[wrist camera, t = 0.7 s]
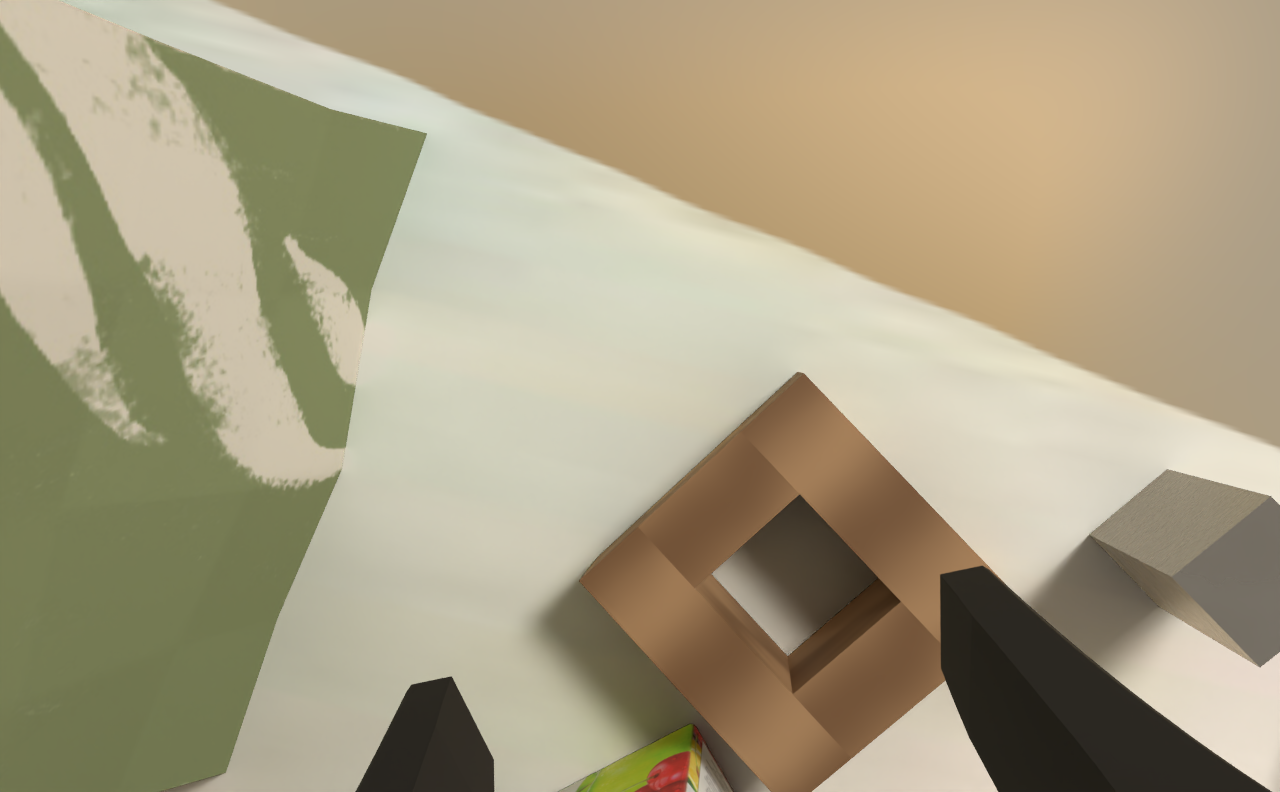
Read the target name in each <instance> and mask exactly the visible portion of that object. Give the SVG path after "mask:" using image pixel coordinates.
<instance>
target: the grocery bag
mask: <svg viewBox="0 0 1280 792" xmlns="http://www.w3.org/2000/svg"><path fill="white" fill-rule="evenodd" d="M426 135H427V133H423V132H419V131H415V130H411V129H407V128H403V127H399V126H395V125H391V124H387V123H383V122H379V121H375V120H371V119H367V118H363V117H359V116H355V115H351V114H347V113H343V112H339V111H335V110H331V109H328V108H326V107H323V106H321V105H318V104H316V103H313V102H311V101H308V100H306V99H303V98H301V97H298V96H296V95H293V94H290V93H288V92H285V91H283V90H280V89H278V88H275V87H273V86H270V85H268V84H265V83H263V82H260V81H258V80H255V79H252V78H250V77H247V76H245V75H242V74H240V73H237V72H235V71H232V70H230V69H227V68H225V67H222V66H220V65H217V64H214V63H212V62H209V61H207V60H204V59H202V58H199V57H197V56H194V55H192V54H189V53H187V52H184V51H182V50H179V49H176V48H174V47H171V46H169V45H166V44H164V43H161V42H159V41H156V40H154V39H151V38H149V37H146V36H144V35H142V34H139V33H137V32H134V31H132V30H129V29H127V28H124V27H122V26H120V25H117V24H115V23H112V22H110V21H107V20H105V19H103V18H100V17H98V16H95V15H93V14H90V13H88V12H86V11H83V10H81V9H78V8H76V7H73V6H71V5H69V4H66V3H64V2H61V1H59V0H0V792H160V791H164V790H167V789H171V788H174V787H178V786H181V785H184V784H188V783H191V782H195V781H198V780H202V779H205V778H209V777H212V776H216V775H219V774H222V773H226V770H227V767H228V764H229V761H230V758H231V755H232V752H233V749H234V746H235V743H236V740H237V737H238V734H239V731H240V728H241V725H242V722H243V719H244V716H245V713H246V710H247V707H248V704H249V701H250V698H251V695H252V692H253V689H254V686H255V683H256V681H257V678H258V675H259V672H260V669H261V666H262V663H263V660H264V657H265V654H266V651H267V648H268V645H269V642H270V639H271V636H272V633H273V630H274V627H275V624H276V621H277V618H278V616H279V613H280V611H281V609H282V606H283V604H284V602H285V599H286V597H287V595H288V592H289V590H290V588H291V585H292V583H293V581H294V579H295V576H296V574H297V572H298V569H299V567H300V565H301V562H302V560H303V558H304V555H305V553H306V551H307V548H308V546H309V544H310V542H311V539H312V537H313V535H314V532H315V530H316V528H317V525H318V523H319V521H320V518H321V516H322V514H323V511H324V509H325V507H326V505H327V502H328V500H329V498H330V495H331V493H332V491H333V488H334V486H335V484H336V481H337V479H338V477H339V474H340V472H341V470H342V466H343V460H344V454H345V447H346V441H347V435H348V429H349V423H350V417H351V411H352V405H353V399H354V393H355V386H356V380H357V374H358V368H359V362H360V356H361V350H362V344H363V338H364V332H365V326H366V319H367V313H368V307H369V301H370V295H371V289H372V287H373V284H374V281H375V278H376V275H377V273H378V270H379V267H380V264H381V261H382V259H383V256H384V253H385V250H386V247H387V245H388V242H389V239H390V236H391V233H392V231H393V228H394V225H395V222H396V219H397V216H398V214H399V211H400V208H401V205H402V202H403V200H404V197H405V194H406V191H407V188H408V185H409V183H410V180H411V177H412V174H413V171H414V169H415V166H416V163H417V160H418V157H419V155H420V152H421V149H422V146H423V143H424V140H425V138H426Z"/></svg>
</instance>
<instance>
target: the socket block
mask: <svg viewBox="0 0 1280 792" xmlns="http://www.w3.org/2000/svg"><path fill="white" fill-rule="evenodd" d="M799 494H800V495H801V496H802V497H803V498H804V499H805V500H806V501H807V502H808V504H809V505H810V506H811V507H812V508H813V509H814V510H815V511H816V512H817V513H818V514H819V515H820V516H821V517H822V518H823V519H824V520H825V522H826V523H827V524H828V525H829V526H830V527H831V528H832V529H833V530H834V531H835V532H836V533H837V534H838V535H839V536H840V537H841V538H842V540H843V541H844V542H845V543H846V544H847V545H848V546H849V547H850V548H851V549H852V550H853V551H854V552H855V553H856V554H857V555H858V556H859V558H860V559H861V560H862V561H863V562H864V563H865V564H866V565H867V566H868V567H869V568H870V569H871V570H872V571H873V572H874V573H875V574H876V576H877V577H878V579H877V580H876V581H875V582H873V583H872V584H871V585H870V586H869V587H868V588H866V589H865V590H864V591H863V592H862V593H861V594H860V595H858V596H857V597H856V598H855V599H854V600H853V601H851V602H850V603H849V604H848V605H847V606H846V607H844V608H843V609H842V610H841V611H840V612H839V613H838V614H836V615H835V616H834V617H833V618H832V619H831V620H829V621H828V622H827V623H826V624H825V625H824V626H823V627H821V628H820V629H819V630H818V631H817V632H816V633H814V634H813V635H812V636H811V637H810V638H809V639H807V640H806V641H805V642H804V643H803V644H802V645H801V646H799V647H798V648H797V649H796V650H795V651H794V652H792V653H791V654H790V655H789V656H787V655H786V654H785V653H784V652H783V651H782V650H781V649H780V648H779V647H778V645H777V644H776V643H775V642H774V641H773V640H772V639H771V638H770V637H769V636H768V635H767V634H766V633H765V631H764V630H763V629H762V628H761V627H760V626H759V625H758V624H757V623H756V622H755V621H754V620H753V619H752V617H751V616H750V615H749V614H748V613H747V612H746V611H745V610H744V609H743V608H742V607H741V606H740V604H739V603H738V602H737V601H736V600H735V599H734V598H733V597H732V596H731V595H730V594H729V593H728V592H727V590H726V589H725V588H724V587H723V586H722V585H721V584H720V583H719V582H718V581H717V580H716V579H715V578H714V576H713V575H712V574H711V573H712V572H713V571H715V570H716V569H717V568H718V567H719V566H720V565H721V564H722V563H723V562H725V561H726V560H727V559H728V558H729V557H730V556H731V555H732V554H734V553H735V552H736V551H737V550H738V549H739V548H740V547H741V546H742V545H744V544H745V543H746V542H747V541H748V540H749V539H750V538H751V537H752V536H754V535H755V534H756V533H757V532H758V531H759V530H760V529H761V528H762V527H764V526H765V525H766V524H767V523H768V522H769V521H770V520H771V519H772V518H774V517H775V516H776V515H777V514H778V513H779V512H780V511H781V510H783V509H784V508H785V507H786V506H787V505H788V504H789V503H790V502H791V501H793V500H794V499H795V498H796V497H797V496H798V495H799ZM982 565H983V566H984V567H986V568H988V569H989V570H990V571H992V570H991V569H990V567H989V566H988V565H987V564H986V563H985V562H984V561H983V560H982V559H981V558H980V557H979V556H978V555H977V554H976V553H975V552H974V551H973V550H972V549H971V548H970V547H969V546H968V544H967V543H966V542H965V541H964V540H963V539H962V538H961V537H960V536H959V535H958V534H957V533H956V532H955V531H954V530H953V529H952V528H951V527H950V526H949V525H948V524H947V523H946V521H945V520H944V519H943V518H942V517H941V516H940V515H939V514H938V513H937V512H936V511H935V510H934V509H933V508H932V507H931V506H930V505H929V504H928V503H927V502H926V501H925V500H924V498H923V497H922V496H921V495H920V494H919V493H918V492H917V491H916V490H915V489H914V488H913V487H912V486H911V485H910V484H909V483H908V482H907V481H906V480H905V479H904V478H903V477H902V475H901V474H900V473H899V472H898V471H897V470H896V469H895V468H894V467H893V466H892V465H891V464H890V463H889V462H888V461H887V460H886V459H885V458H884V457H883V456H882V455H881V454H880V452H879V451H878V450H877V449H876V448H875V447H874V446H873V445H872V444H871V443H870V442H869V441H868V440H867V439H866V438H865V437H864V436H863V435H862V434H861V433H860V432H859V431H858V430H857V428H856V427H855V426H854V425H853V424H852V423H851V422H850V421H849V420H848V419H847V418H846V417H845V416H844V415H843V414H842V413H841V412H840V411H839V410H838V409H837V408H836V407H835V405H834V404H833V403H832V402H831V401H830V400H829V399H828V398H827V397H826V396H825V395H824V394H823V393H822V392H821V391H820V390H819V389H818V388H817V387H816V386H815V385H814V384H813V382H812V381H811V380H810V379H809V378H808V377H807V376H806V375H805V374H804V373H800V372H797V373H796V374H795V375H794V376H793V377H792V378H791V379H790V380H788V381H787V382H786V383H785V384H784V385H783V386H782V387H781V388H780V389H779V390H778V391H777V392H775V393H774V394H773V395H772V396H771V397H770V398H769V399H768V400H767V401H766V402H765V403H764V404H762V405H761V406H760V407H759V408H758V409H757V410H756V411H755V412H754V413H753V414H752V415H751V416H750V417H748V418H747V419H746V420H745V421H744V422H743V423H742V424H741V425H740V426H739V427H738V428H737V429H735V430H734V431H733V432H732V433H731V434H730V435H729V436H728V437H727V438H726V439H725V440H724V441H722V442H721V443H720V444H719V445H718V446H717V447H716V448H715V449H714V450H713V451H712V452H711V453H710V454H708V455H707V456H706V457H705V458H704V459H703V460H702V461H701V462H700V463H699V464H698V465H697V466H695V467H694V468H693V469H692V470H691V471H690V472H689V473H688V474H687V475H686V476H685V477H684V478H682V479H681V480H680V481H679V482H678V483H677V484H676V485H675V486H674V487H673V488H672V489H671V490H669V491H668V492H667V493H666V494H665V495H664V496H663V497H662V498H661V499H660V500H659V501H658V502H657V503H655V504H654V505H653V506H652V507H651V508H650V509H649V510H648V511H647V512H646V513H645V514H644V515H642V516H641V517H640V518H639V519H638V520H637V521H636V522H635V523H634V524H633V525H632V526H631V527H629V528H628V529H627V530H626V531H625V532H624V533H623V534H622V535H621V536H620V537H619V538H618V539H617V540H615V541H614V542H613V543H612V544H611V545H610V546H609V547H608V548H607V549H606V550H605V551H604V552H602V553H601V554H600V555H599V556H598V557H597V559H596V560H595V561H594V562H593V564H592V565H591V566H590V568H589V569H588V570H587V571H586V573H585V574H584V575H583V577H582V578H581V579H580V580H579V582H580V583H581V584H582V585H583V586H584V587H585V588H586V589H587V590H588V591H589V593H590V594H591V595H592V596H593V597H594V598H595V599H596V600H597V601H598V602H599V604H600V605H601V606H602V607H603V608H604V609H605V610H606V611H607V612H608V613H609V614H610V616H611V617H612V618H613V619H614V620H615V621H616V622H617V623H618V624H619V625H620V627H621V628H622V629H623V630H624V631H625V632H626V633H627V634H628V635H629V636H630V637H631V639H632V640H633V641H634V642H635V643H636V644H637V645H638V646H639V647H640V648H641V650H642V651H643V652H644V653H645V654H646V655H647V656H648V657H649V658H650V659H651V661H652V662H653V663H654V664H655V665H656V666H657V667H658V668H659V669H660V670H661V671H662V673H663V674H664V675H665V676H666V677H667V678H668V679H669V680H670V681H671V682H672V684H673V685H674V686H675V687H676V688H677V689H678V690H679V691H680V692H681V693H682V694H683V696H684V697H685V698H686V699H687V700H688V701H689V702H690V703H691V704H692V705H693V707H694V708H695V709H696V710H697V711H698V712H699V713H700V714H701V715H702V716H703V718H704V719H705V720H706V721H707V722H708V723H709V724H710V725H711V726H712V727H713V728H714V730H715V731H716V732H717V733H718V734H719V735H720V736H721V737H722V738H723V739H724V741H725V742H726V743H727V744H728V745H729V746H730V747H731V748H732V749H733V750H734V751H735V753H736V754H737V755H738V756H739V757H740V758H741V759H742V760H743V761H744V762H745V764H746V765H747V766H748V767H749V768H750V769H751V770H752V771H753V772H754V773H755V775H756V776H757V777H758V778H759V779H760V780H761V781H762V782H763V783H764V784H765V785H766V787H767V788H768V789H769V790H770V791H771V792H812V791H813V790H814V789H815V788H817V787H818V786H819V785H820V784H821V783H823V782H824V781H825V780H826V779H827V778H829V777H830V776H831V775H832V774H833V773H835V772H836V771H837V770H838V769H839V768H841V767H842V766H843V765H844V764H845V763H847V762H848V761H849V760H850V759H851V758H853V757H854V756H855V755H856V754H857V753H859V752H860V751H861V750H862V749H863V748H865V747H866V746H867V745H868V744H869V743H871V742H872V741H873V740H874V739H875V738H877V737H878V736H879V735H880V734H881V733H883V732H884V731H885V730H886V729H887V728H889V727H890V726H891V725H892V724H893V723H895V722H896V721H897V720H898V719H899V718H901V717H902V716H903V715H904V714H906V713H907V712H908V711H909V710H910V709H912V708H913V707H914V706H915V705H916V704H918V703H919V702H920V701H921V700H922V699H924V698H925V697H926V696H927V695H928V694H930V693H931V692H932V691H933V690H934V689H936V688H937V687H938V686H939V685H940V684H942V683H943V682H944V681H945V677H944V675H943V672H942V670H941V632H940V574H944V573H949V572H953V571H958V570H963V569H968V568H973V567H977V566H982ZM992 572H993V571H992ZM993 573H994V572H993ZM994 574H995V573H994ZM995 575H996V574H995ZM996 576H997V575H996ZM997 577H998V576H997ZM998 578H999V577H998ZM999 579H1000V578H999ZM1000 580H1001V579H1000ZM1001 581H1002V580H1001ZM1002 582H1003V581H1002ZM1003 583H1004V582H1003Z"/></svg>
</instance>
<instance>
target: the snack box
mask: <svg viewBox="0 0 1280 792" xmlns="http://www.w3.org/2000/svg"><path fill="white" fill-rule="evenodd" d="M559 792H734V791H733V790H732V788H731V786H730V785H729V783H728V781H727V779H726V778H725V776H724V774H723V773H722V771H721V769H720V768H719V766H718V764H717V762H716V761H715V759H714V757H713V755H712V754H711V752H710V750H709V748H708V747H707V745H706V743H705V741H704V740H703V738H702V736H701V735H700V733H699V731H698V729H697V728H696V726H695V725H693V724H689V725H687V726H685V727H683V728H681V729H679V730H677V731H675V732H673V733H671V734H669V735H667V736H665V737H663V738H661V739H660V740H658V741H656V742H654V743H652V744H650V745H648V746H646V747H644V748H642V749H640V750H638V751H636V752H634V753H632V754H630V755H628V756H626V757H624V758H622V759H620V760H618V761H616V762H615V763H613V764H611V765H609V766H607V767H605V768H603V769H601V770H599V771H597V772H595V773H593V774H591V775H590V776H588V777H586V778H584V779H582V780H580V781H578V782H576V783H574V784H572V785H570V786H568V787H566V788H564V789H563V790H561V791H559Z"/></svg>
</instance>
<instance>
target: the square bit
mask: <svg viewBox="0 0 1280 792" xmlns="http://www.w3.org/2000/svg"><path fill="white" fill-rule="evenodd" d="M1089 535H1090V536H1091V537H1092V538H1093V539H1094V540H1095V541H1096V542H1097V543H1098V544H1099V545H1100V546H1101V547H1102V548H1103V549H1104V550H1105V551H1106V552H1107V553H1108V555H1109V556H1110V557H1111V558H1112V559H1113V560H1114V561H1115V562H1116V563H1117V564H1118V565H1119V566H1120V567H1121V568H1122V569H1123V570H1124V571H1125V572H1126V573H1127V574H1128V575H1129V576H1130V577H1131V578H1132V579H1133V580H1134V581H1135V582H1136V583H1137V584H1138V585H1139V586H1140V587H1141V589H1142V590H1143V591H1144V592H1145V593H1146V594H1147V595H1148V596H1149V597H1150V598H1151V599H1152V600H1153V601H1154V602H1155V603H1156V604H1157V605H1158V606H1159V607H1160V608H1162V609H1164V610H1165V611H1167V612H1169V613H1170V614H1172V615H1174V616H1175V617H1177V618H1179V619H1180V620H1182V621H1184V622H1185V623H1187V624H1189V625H1190V626H1192V627H1194V628H1195V629H1197V630H1199V631H1200V632H1202V633H1203V634H1205V635H1207V636H1208V637H1210V638H1212V639H1213V640H1215V641H1217V642H1218V643H1220V644H1222V645H1223V646H1225V647H1227V648H1228V649H1230V650H1232V651H1233V652H1235V653H1237V654H1238V655H1240V656H1242V657H1243V658H1245V659H1247V660H1248V661H1250V662H1252V663H1253V664H1255V665H1257V666H1258V667H1261V666H1262V665H1264V664H1265V663H1266V662H1267V661H1269V660H1270V659H1271V658H1273V657H1274V656H1275V655H1276V654H1278V653H1279V652H1280V505H1279V504H1278V503H1277V502H1276V501H1275V500H1274V499H1273V498H1272V497H1271V496H1268V495H1264V494H1260V493H1256V492H1252V491H1248V490H1245V489H1241V488H1237V487H1233V486H1229V485H1225V484H1222V483H1218V482H1214V481H1210V480H1206V479H1202V478H1199V477H1195V476H1191V475H1187V474H1183V473H1179V472H1176V471H1172V470H1168V469H1167V470H1166V471H1165V472H1163V473H1162V474H1161V475H1160V476H1159V477H1157V478H1156V479H1155V480H1154V481H1153V482H1151V483H1150V484H1149V485H1148V486H1147V487H1145V488H1144V489H1143V490H1142V491H1141V492H1139V493H1138V494H1137V495H1136V496H1135V497H1134V498H1132V499H1131V500H1130V501H1129V502H1128V503H1126V504H1125V505H1124V506H1123V507H1122V508H1120V509H1119V510H1118V511H1117V512H1116V513H1114V514H1113V515H1112V516H1111V517H1110V518H1108V519H1107V520H1106V521H1105V522H1104V523H1102V524H1101V525H1100V526H1099V527H1098V528H1096V529H1095V530H1094V531H1093V532H1092V533H1090V534H1089Z"/></svg>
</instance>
